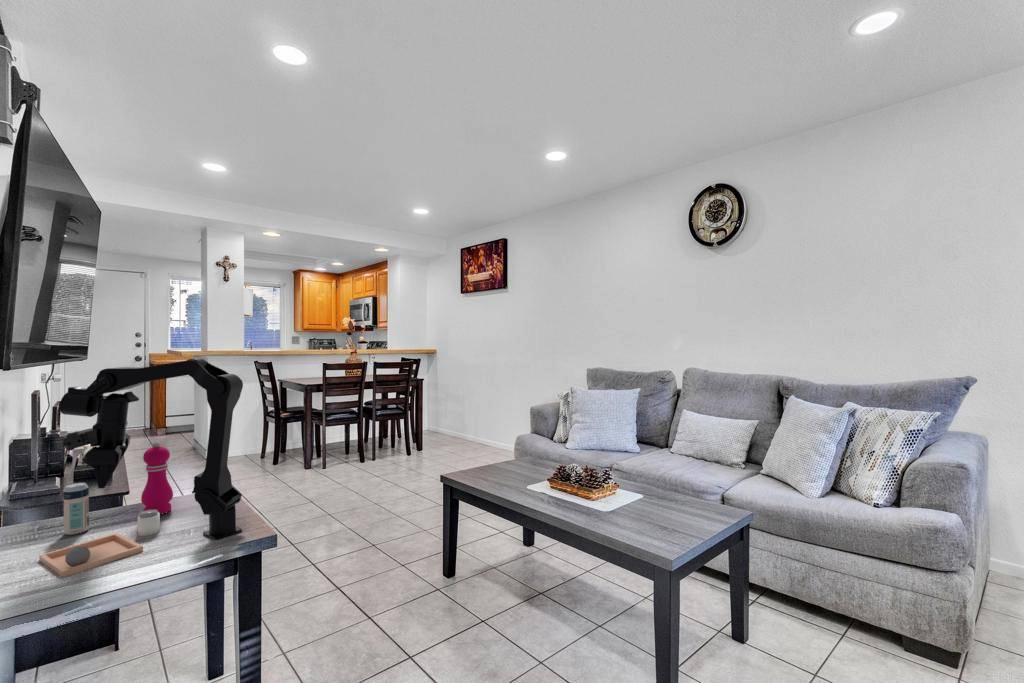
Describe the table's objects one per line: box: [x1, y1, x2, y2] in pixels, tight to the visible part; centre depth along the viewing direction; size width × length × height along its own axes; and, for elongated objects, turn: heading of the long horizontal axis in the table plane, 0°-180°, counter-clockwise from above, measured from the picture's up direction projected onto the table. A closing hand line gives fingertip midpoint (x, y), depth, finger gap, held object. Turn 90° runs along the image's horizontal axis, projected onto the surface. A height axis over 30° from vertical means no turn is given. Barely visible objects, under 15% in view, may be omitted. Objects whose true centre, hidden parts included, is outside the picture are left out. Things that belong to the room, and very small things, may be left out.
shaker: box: [137, 509, 161, 537], centre depth 122 cm, size 4×4×6 cm
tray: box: [38, 532, 144, 578], centre depth 109 cm, size 14×14×2 cm
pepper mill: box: [140, 440, 174, 514], centre depth 136 cm, size 7×7×20 cm
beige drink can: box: [62, 482, 90, 536], centre depth 123 cm, size 5×5×12 cm
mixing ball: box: [65, 546, 90, 567], centre depth 104 cm, size 4×4×4 cm
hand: (105, 482), depth 120 cm, fingers open, 9 cm apart
